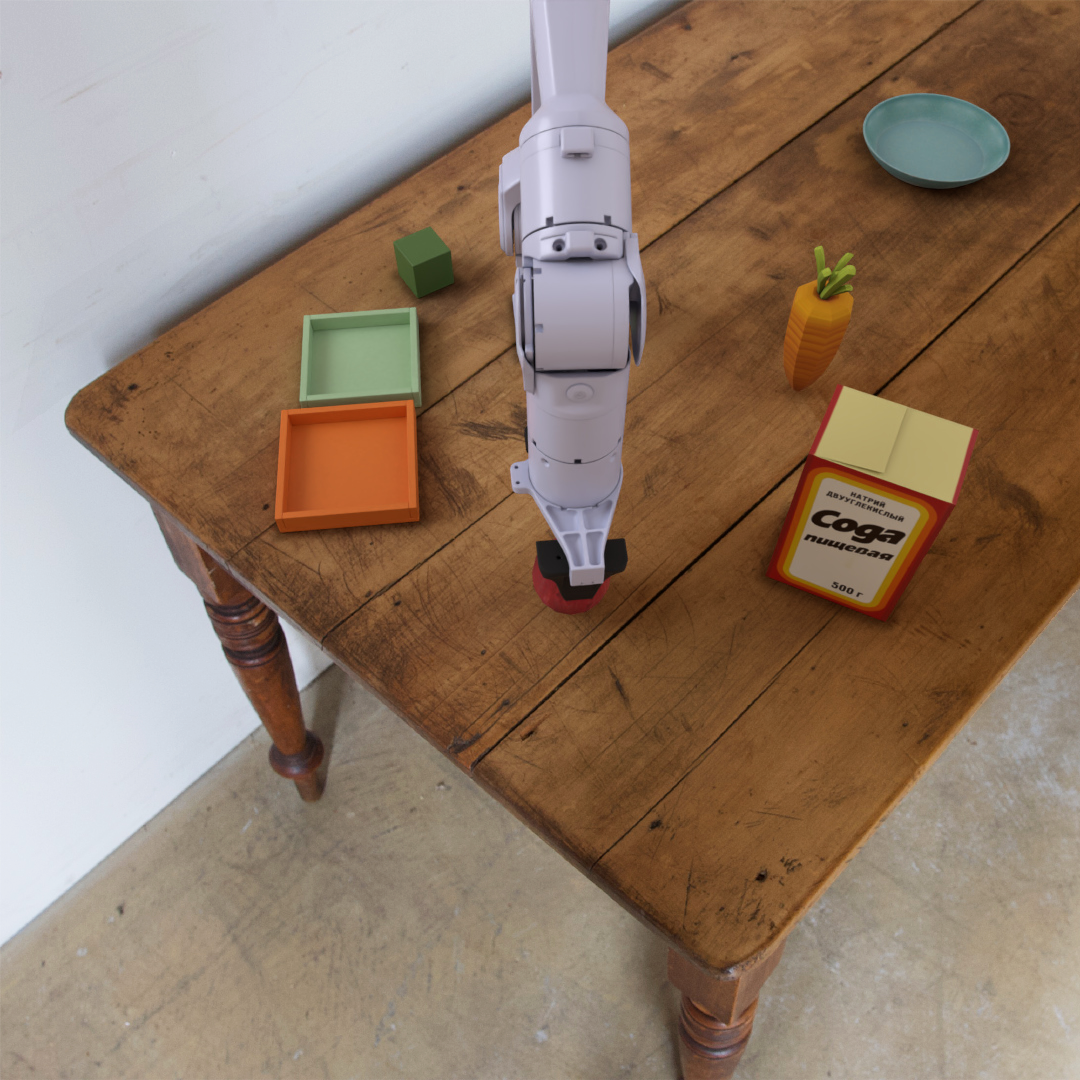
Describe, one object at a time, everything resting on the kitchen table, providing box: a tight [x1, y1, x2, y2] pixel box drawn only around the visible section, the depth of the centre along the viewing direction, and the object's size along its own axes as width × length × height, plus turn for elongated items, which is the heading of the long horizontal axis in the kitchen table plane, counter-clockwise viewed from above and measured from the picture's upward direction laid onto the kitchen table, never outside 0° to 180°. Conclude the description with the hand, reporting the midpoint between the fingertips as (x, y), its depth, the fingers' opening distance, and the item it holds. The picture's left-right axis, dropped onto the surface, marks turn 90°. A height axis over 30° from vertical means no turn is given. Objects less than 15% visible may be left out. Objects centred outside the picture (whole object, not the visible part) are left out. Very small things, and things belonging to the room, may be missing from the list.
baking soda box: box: [764, 383, 980, 623], centre depth 71 cm, size 10×6×16 cm
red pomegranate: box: [531, 537, 612, 616], centre depth 73 cm, size 6×6×8 cm
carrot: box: [782, 245, 857, 392], centre depth 81 cm, size 5×5×15 cm
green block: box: [392, 226, 455, 299], centre depth 94 cm, size 4×4×4 cm
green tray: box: [299, 306, 422, 408], centre depth 88 cm, size 10×10×2 cm
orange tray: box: [274, 400, 420, 534], centre depth 82 cm, size 11×11×2 cm
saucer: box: [862, 92, 1011, 190], centre depth 103 cm, size 15×15×3 cm
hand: (572, 548), depth 70 cm, fingers open, 7 cm apart
